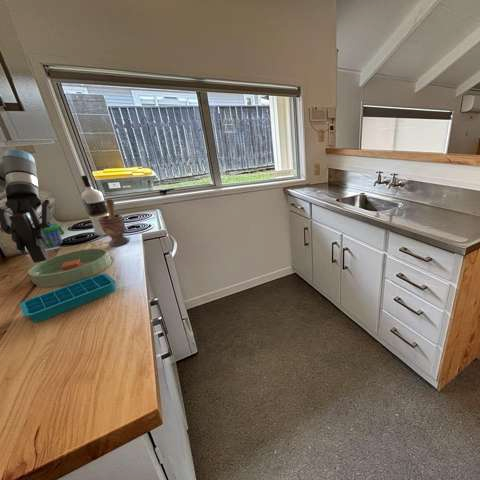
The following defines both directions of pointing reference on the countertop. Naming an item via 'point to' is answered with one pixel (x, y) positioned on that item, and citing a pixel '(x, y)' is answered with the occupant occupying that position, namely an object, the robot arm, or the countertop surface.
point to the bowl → (53, 275)
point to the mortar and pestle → (113, 225)
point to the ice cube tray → (67, 297)
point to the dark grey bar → (28, 237)
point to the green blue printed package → (52, 235)
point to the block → (71, 265)
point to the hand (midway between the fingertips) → (29, 248)
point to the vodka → (94, 205)
